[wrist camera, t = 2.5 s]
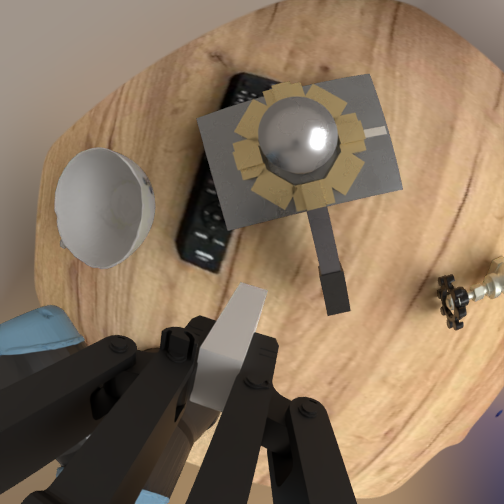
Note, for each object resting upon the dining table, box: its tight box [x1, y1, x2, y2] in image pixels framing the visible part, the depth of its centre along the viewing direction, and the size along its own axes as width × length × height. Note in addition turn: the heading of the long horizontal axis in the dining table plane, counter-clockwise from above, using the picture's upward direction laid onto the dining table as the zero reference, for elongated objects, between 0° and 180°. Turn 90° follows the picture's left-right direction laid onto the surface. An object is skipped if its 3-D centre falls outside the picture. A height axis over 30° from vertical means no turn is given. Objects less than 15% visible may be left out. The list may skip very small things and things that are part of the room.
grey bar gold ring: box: [233, 81, 366, 316], centre depth 26 cm, size 11×21×4 cm, turn 16°
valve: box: [437, 256, 504, 330], centre depth 27 cm, size 7×7×12 cm
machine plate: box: [196, 74, 403, 231], centre depth 24 cm, size 18×12×13 cm, turn 106°
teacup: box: [55, 147, 155, 269], centre depth 31 cm, size 15×12×8 cm
